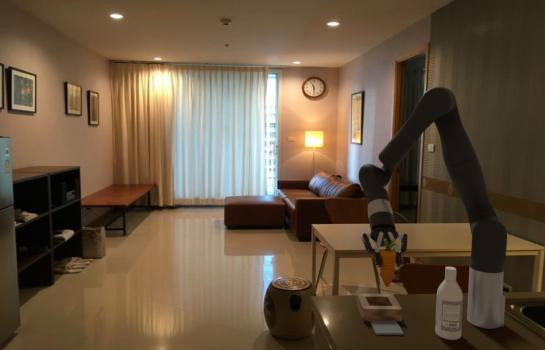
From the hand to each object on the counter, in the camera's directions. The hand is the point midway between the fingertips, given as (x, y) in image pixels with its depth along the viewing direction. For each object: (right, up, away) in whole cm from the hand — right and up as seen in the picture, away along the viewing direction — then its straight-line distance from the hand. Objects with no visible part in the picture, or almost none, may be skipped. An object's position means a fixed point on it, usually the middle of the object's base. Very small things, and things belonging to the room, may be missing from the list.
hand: (389, 265), depth 119 cm
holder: (0, -19, +14) cm, 23 cm away
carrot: (0, -7, +3) cm, 8 cm away
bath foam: (+17, -20, 0) cm, 26 cm away
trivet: (0, -20, +4) cm, 20 cm away
